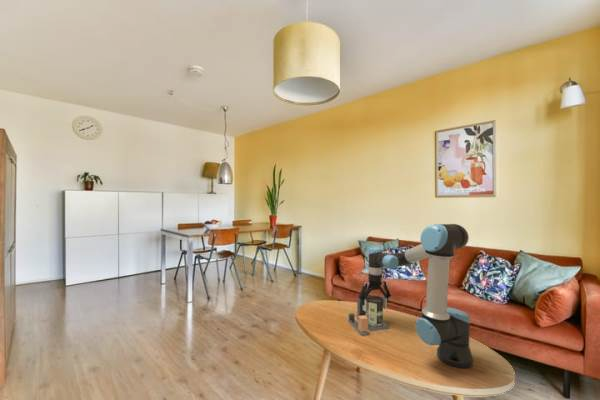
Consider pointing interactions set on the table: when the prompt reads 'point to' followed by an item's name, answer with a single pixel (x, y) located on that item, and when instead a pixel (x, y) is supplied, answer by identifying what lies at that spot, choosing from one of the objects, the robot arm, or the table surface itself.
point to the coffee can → (374, 310)
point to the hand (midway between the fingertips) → (374, 309)
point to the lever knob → (362, 323)
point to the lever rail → (355, 324)
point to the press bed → (361, 312)
